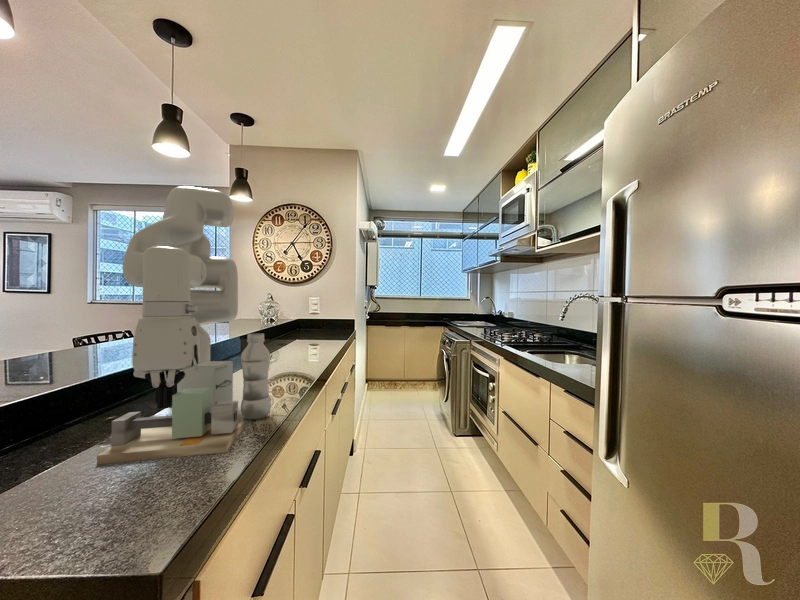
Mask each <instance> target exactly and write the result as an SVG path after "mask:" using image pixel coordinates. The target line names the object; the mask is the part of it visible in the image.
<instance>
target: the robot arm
mask: <svg viewBox="0 0 800 600" xmlns="http://www.w3.org/2000/svg"><path fill="white" fill-rule="evenodd" d="M164 202H165V206H164V207H165V209H164V212H163V216H162V219H161V220H158V221H156V222H153V223H151V224H150V225H148V226H146V227H144V228H142V229H140V230H138V231H137V232H136V233H134V234H133V236H132V237H131V238H130V239H129V241H128V243H127V244H128V245H127V248H126V250H125V254H124V257H123V262H122V274H123V278H124V280H125V281H126V282H127V283H128V284H129V285H131V286H133V287H137V288H138V287H139V288H142V301H141V302H142V311H141V313H142V315H141V316H142V318H140V319H138V320H137V324H136V327H135V330H134V331H135V333H134V336H133V343H132V344H133V345H132V354H131V356H132V357H131V362H132V368H133V377H135V378H140V379H146V380H147V381H148V382H149V383H150V384H151V386H152V387H153V388H155V403H156V404H157V405H156V406H157V409H158V410H160V409H168V408H170V407H172V395H174V394H176V393H178V392H180V391H182V390H183V389H187V376H189V375H193V374H196V373H198V371H199V370H198V366H197V364H199V363H203V362H207V361H211V344H212V343H211V342H212V341H211V336H210V334H209V333H208V332H207V330H206V329H204V327H202V325H201V324H205V323H206V324H207V323H210V324H211V323H229V322H232V321H234V320H235V319H237V315H238V312H239V311H238V309H239V305H238V304H239V301H238V300H239V299H238V298H239V290H238V289H239V288H238V286H239V283H238V282H239V281H238V279H239V278H238V274H239V273H238V268H237V264H236V262H235V260H233V259H232V258H230V257H226V256H224V257H223V256H211V242H210V241H211V240H209V239H208V237H207V236H206V235H205V233H204V227H205V226H208V227H209V226H210V227H217V228H218V227H220V228H228V227H230V226H231V225H232V224H233V222H234V216H235V212H234V207H233V203H232V201H231V198H230V197H229V195H228V194H227V193H225V192H223V191H221V190H216V189H210V188H209V189H208V188H204V187H203V188H202V187H195V186H189V185H187V186H186V185H183V186H182V185H181V186H176V187H174V188H172V189H171V190H170V192H169V193H168V196H167V197H166V199H165V201H164ZM193 288H209V289H210V288H216V290H212V289H211V290H209V289H207V290H206V289H193ZM217 288H218V289H220V290H217ZM166 372H168V373H166Z"/></svg>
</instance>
